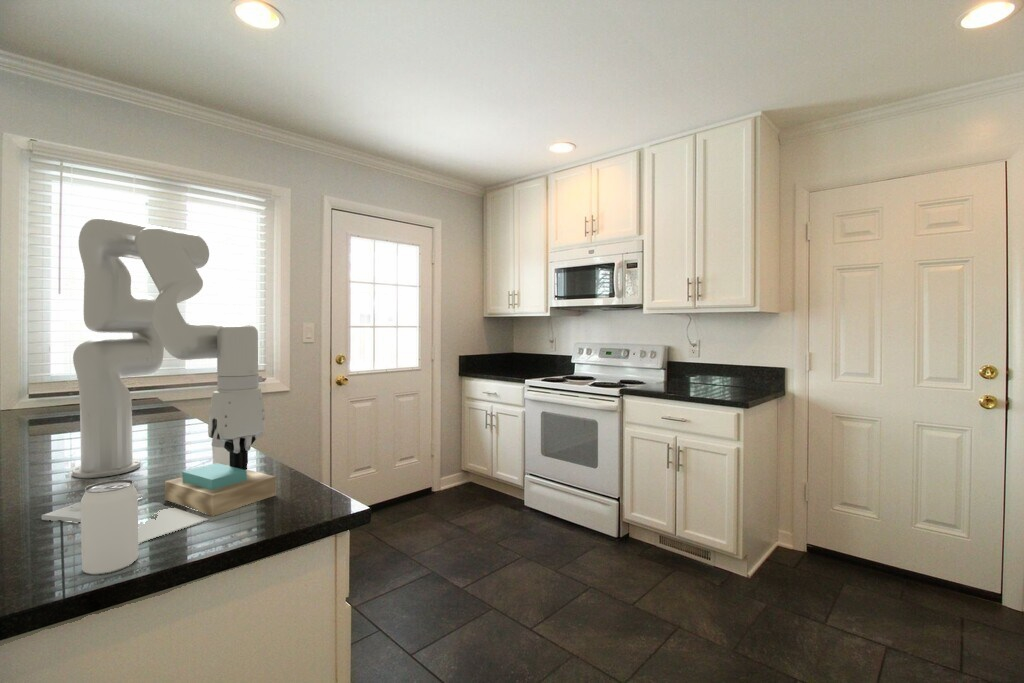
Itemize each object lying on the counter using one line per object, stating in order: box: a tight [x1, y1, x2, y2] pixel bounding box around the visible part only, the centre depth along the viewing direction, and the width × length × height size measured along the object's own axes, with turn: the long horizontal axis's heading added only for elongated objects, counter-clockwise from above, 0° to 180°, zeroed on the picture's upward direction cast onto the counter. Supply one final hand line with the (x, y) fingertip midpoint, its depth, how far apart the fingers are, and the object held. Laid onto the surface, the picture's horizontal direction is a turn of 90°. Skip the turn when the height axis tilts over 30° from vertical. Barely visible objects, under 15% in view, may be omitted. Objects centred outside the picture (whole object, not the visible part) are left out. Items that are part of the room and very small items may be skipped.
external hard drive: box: [41, 493, 144, 522], centre depth 94 cm, size 2×8×12 cm
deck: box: [164, 465, 276, 517], centre depth 100 cm, size 16×13×4 cm
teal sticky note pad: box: [181, 463, 248, 490], centre depth 99 cm, size 10×7×2 cm
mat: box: [138, 507, 209, 544], centre depth 88 cm, size 18×11×1 cm, turn 62°
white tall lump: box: [211, 438, 230, 465], centre depth 116 cm, size 6×12×6 cm
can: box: [80, 478, 139, 576], centre depth 72 cm, size 6×6×12 cm
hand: (238, 469), depth 103 cm, fingers closed
